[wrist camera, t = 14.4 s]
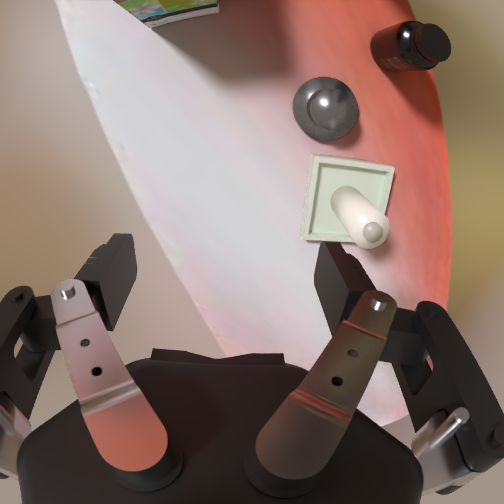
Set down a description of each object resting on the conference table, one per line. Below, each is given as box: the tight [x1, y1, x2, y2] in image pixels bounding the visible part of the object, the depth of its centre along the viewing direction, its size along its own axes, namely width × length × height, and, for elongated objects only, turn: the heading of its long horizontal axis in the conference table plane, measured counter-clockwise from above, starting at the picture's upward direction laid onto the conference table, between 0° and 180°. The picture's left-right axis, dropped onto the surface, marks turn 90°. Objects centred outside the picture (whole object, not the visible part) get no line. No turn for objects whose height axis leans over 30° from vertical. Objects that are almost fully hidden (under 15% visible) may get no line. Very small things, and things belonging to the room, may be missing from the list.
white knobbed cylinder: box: [330, 185, 390, 249], centre depth 38 cm, size 5×5×11 cm
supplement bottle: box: [370, 21, 451, 72], centre depth 27 cm, size 7×7×12 cm
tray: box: [300, 153, 395, 242], centre depth 42 cm, size 13×13×2 cm
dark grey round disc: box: [293, 77, 358, 141], centre depth 35 cm, size 9×9×4 cm
